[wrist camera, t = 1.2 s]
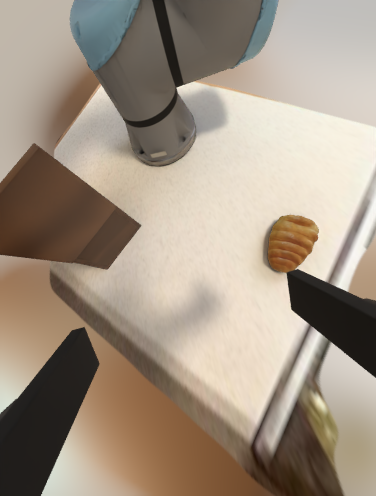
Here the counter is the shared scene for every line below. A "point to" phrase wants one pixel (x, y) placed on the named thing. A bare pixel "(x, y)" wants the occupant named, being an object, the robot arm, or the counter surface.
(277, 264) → the pastry
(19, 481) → the robot arm
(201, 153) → the counter surface
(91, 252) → the chest
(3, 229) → the lid
